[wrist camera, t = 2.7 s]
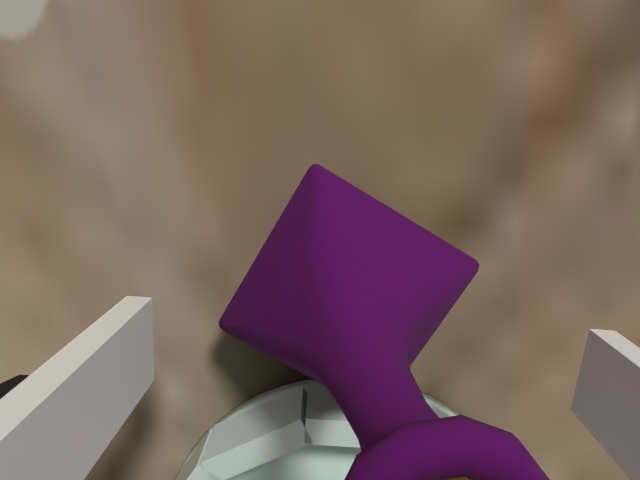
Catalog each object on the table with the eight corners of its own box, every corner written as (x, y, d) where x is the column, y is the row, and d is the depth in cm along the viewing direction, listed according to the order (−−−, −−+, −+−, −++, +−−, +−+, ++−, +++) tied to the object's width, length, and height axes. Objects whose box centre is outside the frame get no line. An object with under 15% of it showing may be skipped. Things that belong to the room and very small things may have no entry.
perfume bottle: (457, 243, 20) (1346, 972, 3) (368, 371, 22) (558, 1377, 4) (314, 156, 19) (234, 385, 2) (232, 296, 21) (-249, 1164, 3)
